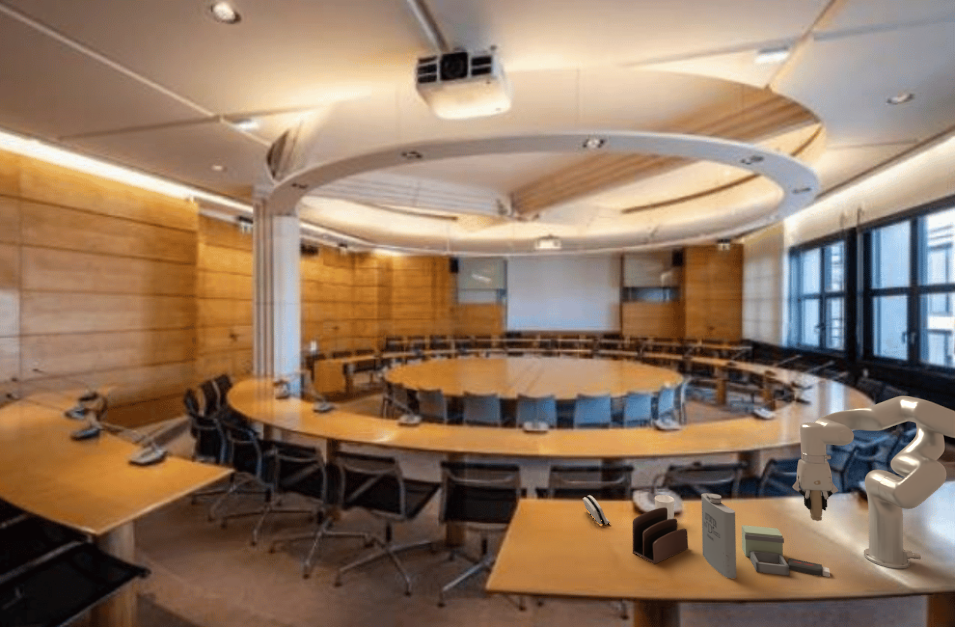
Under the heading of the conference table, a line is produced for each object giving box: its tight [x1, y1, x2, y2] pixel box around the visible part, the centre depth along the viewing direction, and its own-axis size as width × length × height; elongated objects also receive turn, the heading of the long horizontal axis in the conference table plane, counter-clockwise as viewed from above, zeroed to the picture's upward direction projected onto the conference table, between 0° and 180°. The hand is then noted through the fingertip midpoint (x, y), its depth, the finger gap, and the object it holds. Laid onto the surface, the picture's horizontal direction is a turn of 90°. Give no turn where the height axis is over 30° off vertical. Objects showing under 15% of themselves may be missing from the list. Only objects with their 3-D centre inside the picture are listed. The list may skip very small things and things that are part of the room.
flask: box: [700, 492, 737, 580], centre depth 175 cm, size 17×5×25 cm, turn 4°
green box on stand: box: [741, 524, 790, 576], centre depth 177 cm, size 12×16×9 cm
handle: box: [809, 480, 823, 522], centre depth 177 cm, size 5×6×15 cm
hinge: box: [582, 494, 611, 525], centre depth 216 cm, size 17×5×10 cm, turn 7°
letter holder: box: [632, 507, 689, 565], centre depth 186 cm, size 10×20×14 cm, turn 122°
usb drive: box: [787, 557, 831, 578], centre depth 171 cm, size 5×12×3 cm, turn 59°
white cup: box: [654, 494, 675, 520], centre depth 211 cm, size 8×8×10 cm
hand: (815, 508), depth 177 cm, fingers closed on handle, 4 cm apart
